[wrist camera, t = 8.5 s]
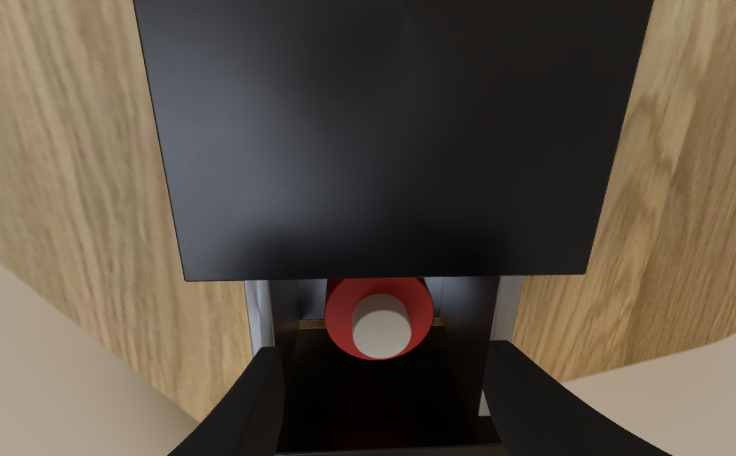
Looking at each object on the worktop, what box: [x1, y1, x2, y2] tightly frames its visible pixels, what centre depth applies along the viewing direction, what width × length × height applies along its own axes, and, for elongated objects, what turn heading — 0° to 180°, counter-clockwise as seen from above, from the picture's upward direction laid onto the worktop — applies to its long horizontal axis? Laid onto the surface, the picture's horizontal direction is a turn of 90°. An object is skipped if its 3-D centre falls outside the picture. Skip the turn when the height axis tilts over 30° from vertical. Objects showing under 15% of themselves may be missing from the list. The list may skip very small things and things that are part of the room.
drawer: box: [244, 276, 523, 456], centre depth 18 cm, size 17×10×8 cm, turn 179°
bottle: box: [324, 277, 434, 360], centre depth 17 cm, size 4×4×6 cm
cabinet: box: [133, 0, 654, 282], centre depth 13 cm, size 14×12×10 cm
